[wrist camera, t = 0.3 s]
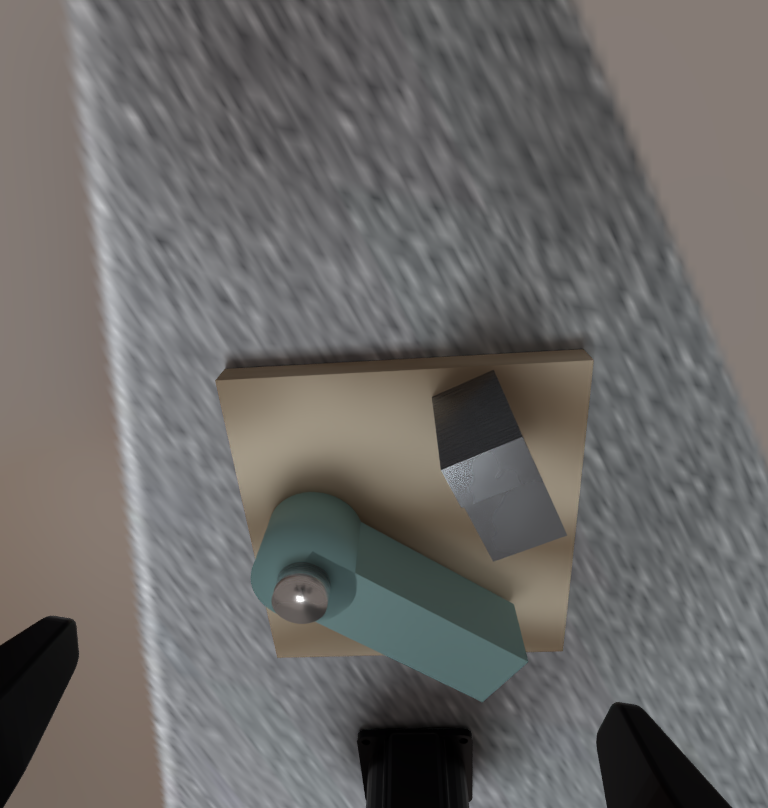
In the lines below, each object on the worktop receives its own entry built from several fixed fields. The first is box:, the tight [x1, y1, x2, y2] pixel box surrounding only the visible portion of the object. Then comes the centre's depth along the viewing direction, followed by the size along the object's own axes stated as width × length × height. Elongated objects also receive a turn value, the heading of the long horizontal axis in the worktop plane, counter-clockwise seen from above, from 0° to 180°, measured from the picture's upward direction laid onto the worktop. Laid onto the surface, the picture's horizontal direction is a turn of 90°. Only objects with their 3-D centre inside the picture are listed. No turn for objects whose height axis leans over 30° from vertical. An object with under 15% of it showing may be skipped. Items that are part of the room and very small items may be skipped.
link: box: [251, 492, 528, 702], centre depth 21 cm, size 12×4×4 cm, turn 57°
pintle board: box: [215, 349, 594, 658], centre depth 21 cm, size 15×14×6 cm
